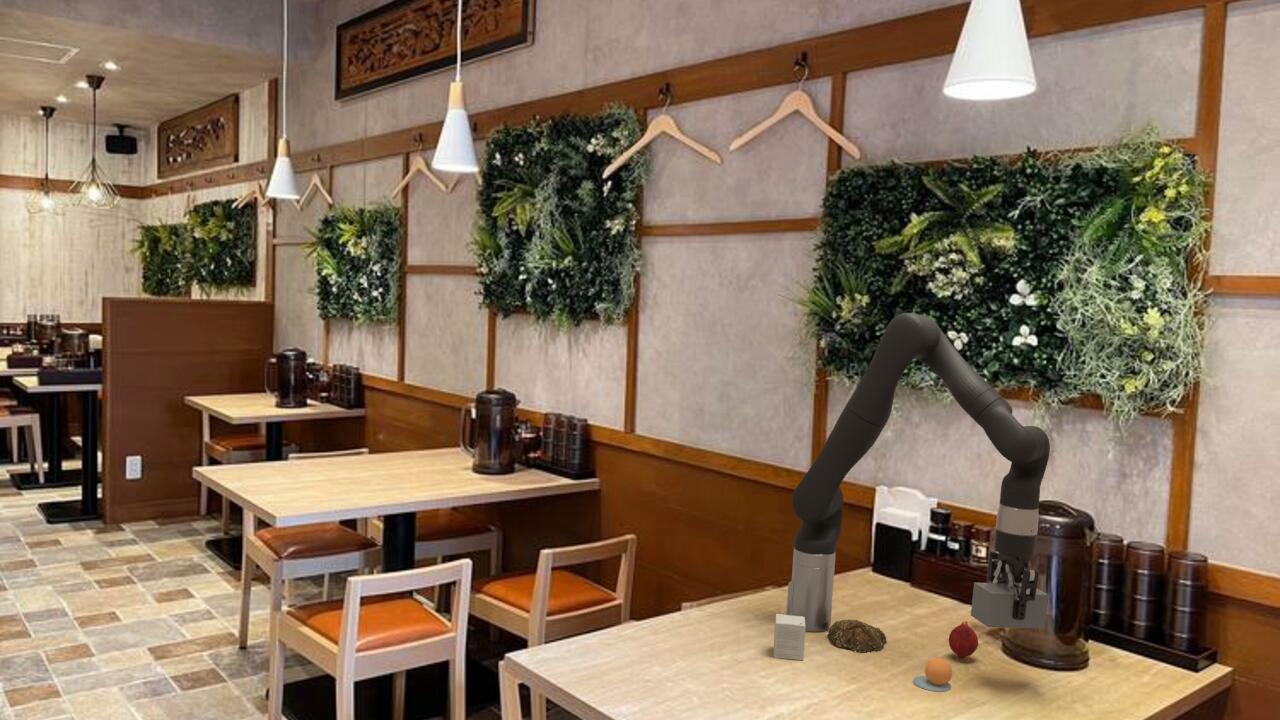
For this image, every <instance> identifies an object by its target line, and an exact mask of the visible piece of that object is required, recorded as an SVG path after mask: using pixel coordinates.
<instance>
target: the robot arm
mask: <svg viewBox="0 0 1280 720" xmlns="http://www.w3.org/2000/svg"><path fill="white" fill-rule="evenodd" d="M913 359H915V360H916V359H917V361H919V362H922V363H923V364H924V365H925V366H927V367H928V368H930V369H931V370H932V371H933V372H934V373H935V374H937V376H939V378H940V379H941V380H942V381H943V382H944V384H945V386H946V387H947V389H948V391H949V392H950V393H951V395H952V397H953V398H954V400H955V402H956V403H957V404H958V405H959V407H961V409H962V410H964V412H965V413H967V415H968V416H969V417H970V418H971V419H973V420H974V422H975V423H977V425H978V426H980V427H981V428H982V430H983V431H984V433H985V434H986V437H987V438H988V439H989V440H990V442H991V443H992V445H993V446H994V448H995V449H996V450H997V451H998V453H999V454H1000V455H1001V456H1003V458H1004V459H1006V460H1008V461H1009V462H1011V463H1010V464H1011V465H1010V468H1009V472H1008V473H1006V475H1004V477H1003V478H1002V482H1001V485H1000V496H999V506H998V509H997V514H996V521H995V522H996V523H995V530H994V531H995V532H994V542H993V549H994V551H989V554H988V555H989V556H988V570H987V573H988V574H987V580H988V582H991V583H1005V584H1010V588H1012V589H1013V593H1014V599H1015V600H1014V605H1013V615H1012V617H1013V619H1015V620H1024V619H1025V612H1026V603H1027V601H1034V600H1035V595H1036V588H1037V589H1038V581H1039V570H1037V569H1031V568H1030V563H1029V559H1030V558H1032V557H1034V556H1035V555H1036V553H1037V551H1036V550H1037V541H1038V531H1039V530H1038V529H1039V519H1040V518H1039V517H1040V516H1039V507H1040V506H1039V505H1040V496H1041V485H1042V481H1043V479H1044V476H1045V473H1046V469H1047V466H1048V462H1049V459H1050V454H1051V453H1050V452H1051V447H1050V445H1051V443H1050V439H1049V436H1048V434H1047V433H1046V432H1045V430H1043V429H1042V428H1040V427H1038V426H1035V425H1024V426H1023V424H1021V423H1020V422H1019V421H1018V420H1017V418H1016V417H1015V416H1014V415H1013V407H1012V406H1011V404H1010V403H1009V402H1008V401H1007V400H1006V399H1005V398H1004V397H1003V396H1002V395H1001V394H1000V393H999V392H998V391H997V390H996V389H995V388H994V387H993V386H992V385H990V383H988V382H987V380H985V379H984V378H983V377H982V375H980V374H979V373H978V372H977V371H975V369H974V368H973V367H972V366H971V365H970V364H969V363H968V362H967V361H966V360H965V358H964V357H963V356H962V355H961V354H960V353H959V352H958V350H957V349H956V348H955V347H954V345H953V343H952V342H951V341H950V340H949V339H948V337H947V336H946V334H945V333H944V332H943V330H942V329H941V328H940V326H939V325H938V324H937V323H936V321H935V320H933V319H932V318H930V317H928V316H926V315H922V314H917V313H912V312H904V313H903V312H902V313H900V314H898V315H896V316H895V317H893V318H892V319H891V320H890V322H889V323H888V325H887V326H886V327H885V330H884V332H883V334H882V337H881V339H880V341H879V344H878V346H877V348H876V350H875V353H874V354H873V356H872V360H871V362H870V364H869V365H868V367H867V369H866V370H865V373H864V374H863V376H862V377H861V379H860V380H859V382H858V384H857V386H856V388H855V389H854V391H853V393H852V395H851V397H850V398H849V399H848V401H847V403H846V404H845V406H844V408H843V409H842V411H841V413H840V415H839V416H838V419H837V420H836V423H835V424H834V425H833V428H832V430H831V432H830V434H829V436H827V437H828V438H826V441H825V442H824V445H823V447H822V449H821V450H820V452H819V454H818V456H817V457H816V459H815V461H814V462H813V463H812V465H811V467H810V468H809V469H808V470H807V472H806V473H805V474H804V476H803V477H802V479H801V481H800V482H799V483H798V485H796V487H795V488H794V491H793V493H792V495H791V496H792V497H791V507H792V510H793V513H794V514H795V515H796V517H797V518H798V519H799V520H801V526H800V527H799V530H798V531H797V533H796V534H795V536H794V541H793V557H792V570H791V571H792V573H791V580H790V581H789V582H788V588H787V597H786V613H785V615H792V616H802V617H805V626H806V627H805V632H814V633H815V632H817V633H818V632H825V631H829V629H830V627H831V621H832V609H833V608H832V606H833V593H834V582H835V581H834V580H835V579H834V578H835V568H836V567H835V565H836V553H837V544H838V542H839V539H840V536H841V532H842V531H841V530H842V522H843V513H844V495H843V491H842V489H841V485H842V482H843V481H844V479H845V478H846V476H847V474H848V473H850V471H851V469H853V467H855V465H856V464H858V462H859V461H860V460H861V459H862V458H863V457H864V456H865V455H866V454H867V453H868V451H869V450H870V449H871V448H872V447H873V445H874V444H875V443H876V441H877V440H878V438H879V437H880V435H881V434H882V431H883V430H884V428H885V426H886V425H887V422H888V421H889V419H890V416H891V413H892V410H893V405H894V404H893V403H894V398H895V394H896V388H897V386H898V383H899V381H900V379H901V378H902V375H903V374H904V372H905V371H906V369H907V368H908V366H909V365H910V363H912V361H913ZM1019 589H1021V591H1020V594H1019ZM1028 589H1030V594H1029V593H1028Z"/></svg>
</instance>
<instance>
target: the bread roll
mask: <svg viewBox="0 0 1280 720" xmlns="http://www.w3.org/2000/svg"><path fill="white" fill-rule="evenodd" d="M827 631H828V632H827V637H828V640H829V641H830V642H831V645H832V644H833V645H832V646H834V647H836V648H838V647H839V648H840V649H849V650H851V651H854V652H855V651H856V652H855V653H858V652H860V653H859V654H868V653H867V652H870V653H873V652H881V651H882V650H884V649H885V645H886V644H888V642H887V637H886V635H885V633H884V632H883V630H881V628H880V627H877V626H873V625H872V624H868V623H866V622H863V621H861V620H857V619H841V620H837V621H835V622H834V623H833V624H832V625H830V629H828V630H827Z"/></svg>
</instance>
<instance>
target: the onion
mask: <svg viewBox="0 0 1280 720" xmlns="http://www.w3.org/2000/svg"><path fill="white" fill-rule="evenodd" d="M968 623H969V622H968V621H967V620H965V619H964V620H962V622H961V624H960V625H957V626H956V627H954V628H953V629H952V630H951V631H950V633H949V636H948V644H949V648H950V650H951V652H953V653H954V655H956V656H957V657H958V658H959V659H965V658H968V657H970V656H972V655H973V654H974V653H975V652H976V650H977V649H978V646H979V638H978V635H977V633H976V632H975V630H973V628H972V627H971V626H969V625H968Z"/></svg>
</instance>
